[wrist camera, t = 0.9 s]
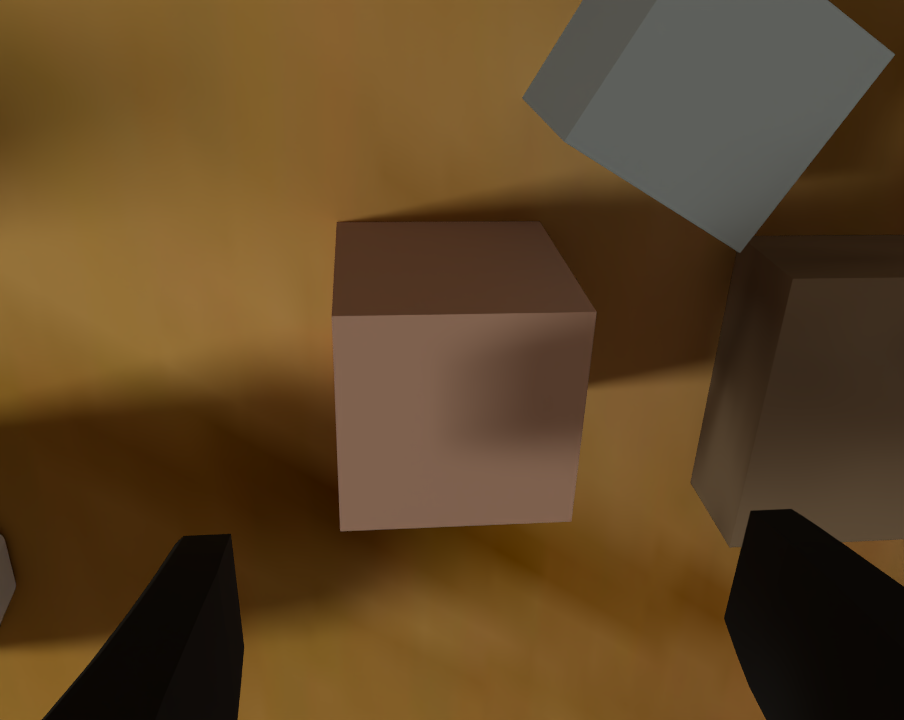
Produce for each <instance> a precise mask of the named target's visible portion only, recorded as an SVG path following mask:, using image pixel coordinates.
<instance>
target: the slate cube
mask: <svg viewBox="0 0 904 720" xmlns="http://www.w3.org/2000/svg"><path fill="white" fill-rule="evenodd" d="M894 55H895V54H894V53H893V52H891V51H890V50H889V49H888V48H886V47H885V46H884V45H883V44H881V43H880V42H879V41H878V40H877V39H875V38H874V37H873V36H872V35H870V34H869V33H868V32H867V31H865V30H864V29H863V28H862V27H860V26H859V25H858V24H857V23H855V22H854V21H853V20H852V19H850V18H849V17H848V16H847V15H845V14H844V13H843V12H842V11H841V10H839V9H838V8H837V7H836V6H834V5H833V4H832V3H831V2H829V1H828V0H583V1H582V2H581V4H580V6H579V7H578V9H577V10H576V12H575V14H574V15H573V17H572V19H571V20H570V22H569V23H568V25H567V27H566V28H565V30H564V31H563V33H562V35H561V36H560V38H559V39H558V41H557V43H556V44H555V46H554V47H553V49H552V51H551V52H550V54H549V56H548V57H547V59H546V60H545V62H544V64H543V65H542V67H541V68H540V70H539V72H538V73H537V75H536V76H535V78H534V80H533V81H532V83H531V84H530V86H529V88H528V89H527V91H526V93H525V94H524V96H523V97H522V98H523V99H524V101H525V102H526V103H527V104H528V105H529V106H530V107H531V108H532V109H533V110H534V111H535V112H536V113H537V114H538V115H539V116H540V117H541V118H542V119H543V120H544V121H545V122H546V123H547V124H548V125H549V126H550V127H551V128H552V130H553V131H554V132H555V133H556V134H557V135H558V136H559V137H560V138H561V139H562V140H563V141H564V142H566V143H567V144H569V145H570V146H572V147H573V148H575V149H577V150H578V151H580V152H581V153H583V154H585V155H586V156H588V157H589V158H591V159H592V160H594V161H596V162H597V163H599V164H600V165H602V166H603V167H605V168H607V169H608V170H610V171H611V172H613V173H614V174H616V175H618V176H619V177H621V178H622V179H624V180H625V181H627V182H629V183H630V184H632V185H633V186H635V187H637V188H638V189H640V190H641V191H643V192H644V193H646V194H648V195H649V196H651V197H652V198H654V199H655V200H657V201H659V202H660V203H662V204H663V205H665V206H666V207H668V208H670V209H671V210H673V211H674V212H676V213H678V214H679V215H681V216H682V217H684V218H685V219H687V220H689V221H690V222H692V223H693V224H695V225H696V226H698V227H700V228H701V229H703V230H704V231H706V232H707V233H709V234H711V235H712V236H714V237H715V238H717V239H718V240H720V241H722V242H723V243H725V244H726V245H728V246H730V247H731V248H733V249H734V250H736V251H737V252H739V253H741V251H742V250H743V249H744V247H745V246H746V245H747V244H748V242H749V241H750V240H751V238H752V237H753V236H754V235H755V233H756V232H757V231H758V229H759V228H760V227H761V226H762V224H763V223H764V222H765V221H766V219H767V218H768V217H769V215H770V214H771V213H772V212H773V210H774V209H775V208H776V206H777V205H778V204H779V203H780V201H781V200H782V199H783V197H784V196H785V195H786V194H787V192H788V191H789V190H790V189H791V187H792V186H793V185H794V183H795V182H796V181H797V180H798V178H799V177H800V176H801V174H802V173H803V172H804V171H805V169H806V168H807V167H808V165H809V164H810V163H811V162H812V160H813V159H814V158H815V157H816V155H817V154H818V153H819V151H820V150H821V149H822V148H823V146H824V145H825V144H826V142H827V141H828V140H829V139H830V137H831V136H832V135H833V133H834V132H835V131H836V130H837V128H838V127H839V126H840V125H841V123H842V122H843V121H844V119H845V118H846V117H847V116H848V114H849V113H850V112H851V110H852V109H853V108H854V107H855V105H856V104H857V103H858V101H859V100H860V99H861V98H862V96H863V95H864V94H865V93H866V91H867V90H868V89H869V87H870V86H871V85H872V84H873V82H874V81H875V80H876V78H877V77H878V76H879V75H880V73H881V72H882V71H883V69H884V68H885V67H886V66H887V64H888V63H889V62H890V61H891V59H892V58H893V57H894Z"/></svg>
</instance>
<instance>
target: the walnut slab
mask: <svg viewBox="0 0 904 720" xmlns="http://www.w3.org/2000/svg"><path fill="white" fill-rule="evenodd" d="M691 484H692V486H693V488H694V489H695V491H696V493H697V494H698V496H699V498H700V499H701V501H702V503H703V504H704V506H705V507H706V509H707V511H708V512H709V514H710V516H711V517H712V519H713V521H714V522H715V524H716V526H717V527H718V529H719V531H720V532H721V534H722V536H723V537H724V539H725V541H726V542H727V544H728V546H729V547H742V543H743V539H744V535H745V531H746V527H747V523H748V519H749V515H750V511H753V510H776V509H793V510H794V511H796V512H797V513H799V514H801V515H802V516H804V517H805V518H807V519H808V520H810V521H811V522H813V523H814V524H816V525H817V526H819V527H820V528H822V529H823V530H824V531H826V532H827V533H829V534H830V535H832V536H833V537H834V538H836V539H837V540H839V541H840V542H854V541H875V540H896V539H904V235H813V236H753V237H752V238H751V240H750V241H749V242H748V244H747V245H746V246H745V247H744V249H743V250H742V251H741V253H739V252H736V257H735V262H734V267H733V272H732V277H731V282H730V287H729V292H728V298H727V303H726V308H725V313H724V318H723V323H722V328H721V333H720V338H719V343H718V348H717V353H716V358H715V363H714V368H713V373H712V378H711V383H710V388H709V393H708V398H707V403H706V408H705V413H704V418H703V423H702V428H701V433H700V438H699V443H698V448H697V453H696V458H695V463H694V468H693V473H692V478H691Z"/></svg>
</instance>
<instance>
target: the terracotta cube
mask: <svg viewBox="0 0 904 720" xmlns="http://www.w3.org/2000/svg"><path fill="white" fill-rule="evenodd" d="M596 314H597V312H596V310H595V309H594V307H593V305H592V304H591V302H590V301H589V299H588V297H587V296H586V294H585V293H584V291H583V290H582V288H581V286H580V285H579V283H578V282H577V280H576V278H575V277H574V275H573V274H572V272H571V270H570V269H569V267H568V266H567V264H566V262H565V261H564V259H563V258H562V256H561V255H560V253H559V251H558V250H557V248H556V247H555V245H554V243H553V242H552V240H551V239H550V237H549V235H548V234H547V232H546V231H545V229H544V227H543V226H542V224H541V223H540V221H498V222H337V227H336V246H335V265H334V284H333V303H332V335H333V360H334V386H335V411H336V436H337V462H338V487H339V513H340V531H360V530H383V529H406V528H430V527H453V526H476V525H499V524H522V523H546V522H569V521H571V520H572V511H573V503H574V495H575V487H576V478H577V470H578V462H579V454H580V445H581V437H582V429H583V421H584V413H585V404H586V396H587V388H588V380H589V371H590V363H591V355H592V347H593V338H594V330H595V322H596Z"/></svg>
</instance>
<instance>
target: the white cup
mask: <svg viewBox="0 0 904 720" xmlns="http://www.w3.org/2000/svg"><path fill="white" fill-rule="evenodd" d="M15 588H16V582H15V578H14V574H13V570H12V566H11V562H10V558H9V554H8V550H7V546H6V542H5V539H4V537H3V536H2V535H1V534H0V626H1V623H2V621H3V618H4V616H5V613H6V611H7V608H8V606H9V604H10V601H11V599H12V596H13V594H14V591H15Z"/></svg>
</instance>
